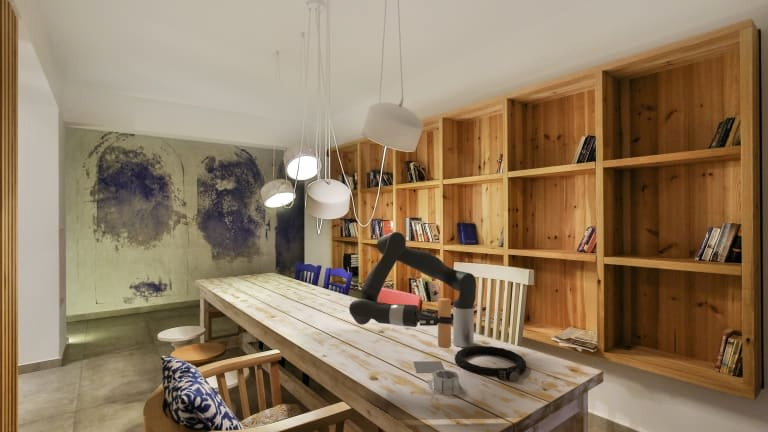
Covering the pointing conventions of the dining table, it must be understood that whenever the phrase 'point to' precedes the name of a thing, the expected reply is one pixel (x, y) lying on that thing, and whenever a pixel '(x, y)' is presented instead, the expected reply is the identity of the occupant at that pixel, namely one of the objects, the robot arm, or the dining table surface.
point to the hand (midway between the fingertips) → (452, 318)
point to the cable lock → (503, 373)
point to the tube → (444, 329)
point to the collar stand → (445, 383)
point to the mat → (428, 366)
